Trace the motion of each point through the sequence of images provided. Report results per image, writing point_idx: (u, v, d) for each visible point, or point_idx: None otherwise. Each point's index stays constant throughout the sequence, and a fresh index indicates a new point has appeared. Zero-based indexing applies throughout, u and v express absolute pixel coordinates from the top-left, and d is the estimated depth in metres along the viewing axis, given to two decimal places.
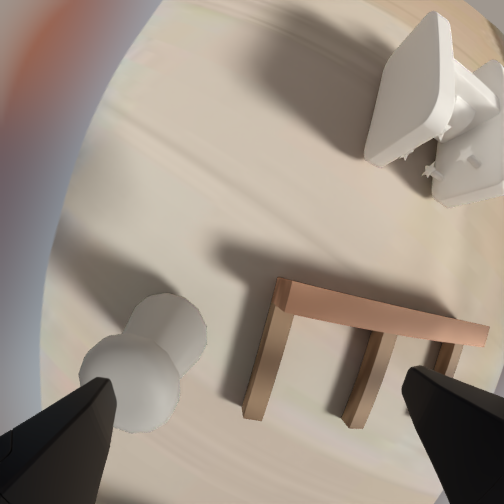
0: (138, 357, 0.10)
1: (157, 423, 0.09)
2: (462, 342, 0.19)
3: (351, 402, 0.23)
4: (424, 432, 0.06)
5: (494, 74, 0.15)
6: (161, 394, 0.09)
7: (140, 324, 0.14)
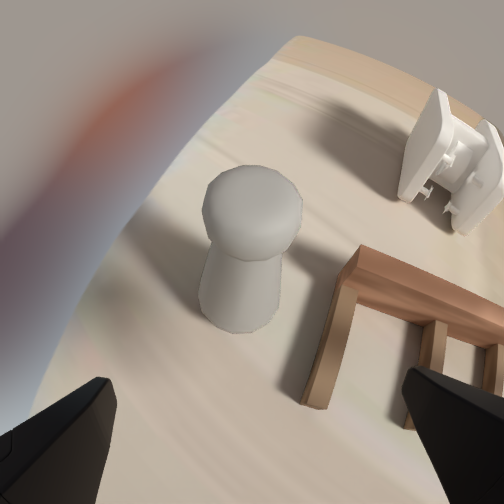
0: (277, 171, 0.13)
1: (285, 223, 0.11)
2: None
3: None
4: (424, 433, 0.06)
5: (482, 127, 0.25)
6: (295, 196, 0.12)
7: None
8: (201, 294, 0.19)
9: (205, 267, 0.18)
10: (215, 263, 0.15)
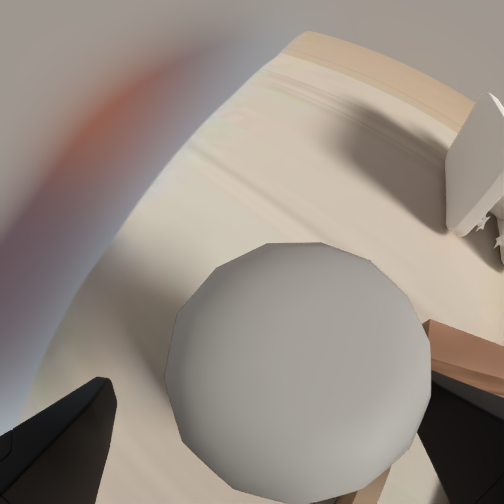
0: (372, 263, 0.04)
1: (405, 443, 0.03)
2: None
3: None
4: (425, 433, 0.06)
5: None
6: (426, 349, 0.04)
7: None
8: None
9: None
10: None
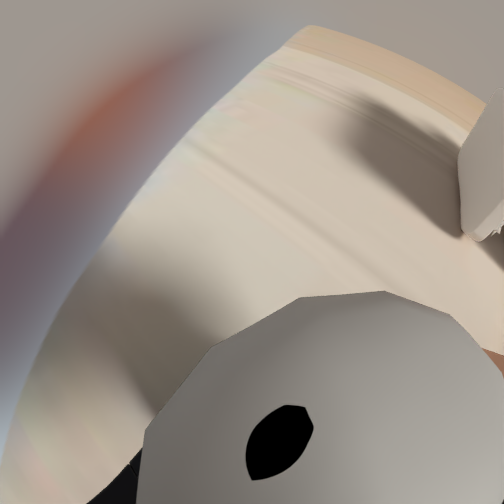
0: (459, 324, 0.02)
1: None
2: None
3: None
4: None
5: None
6: None
7: None
8: None
9: None
10: None
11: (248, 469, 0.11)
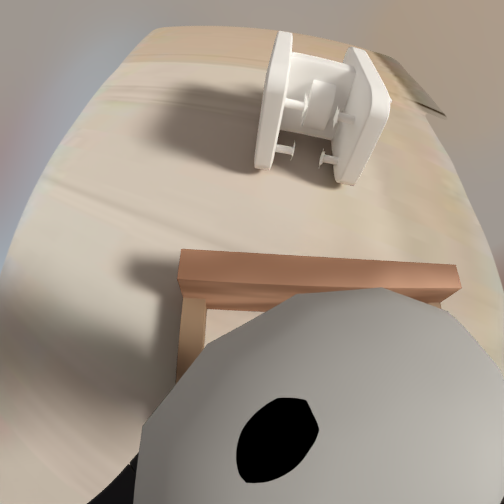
0: (458, 321, 0.02)
1: None
2: (426, 285, 0.18)
3: None
4: None
5: (348, 56, 0.25)
6: None
7: None
8: None
9: None
10: None
11: (248, 468, 0.11)
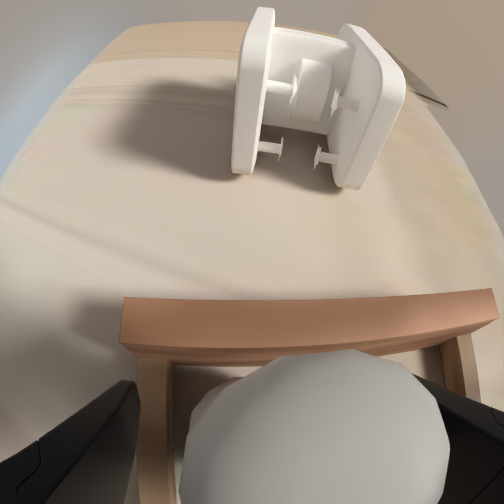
0: (406, 374, 0.04)
1: None
2: (462, 322, 0.12)
3: None
4: None
5: (343, 33, 0.20)
6: (446, 459, 0.03)
7: None
8: None
9: None
10: None
11: None
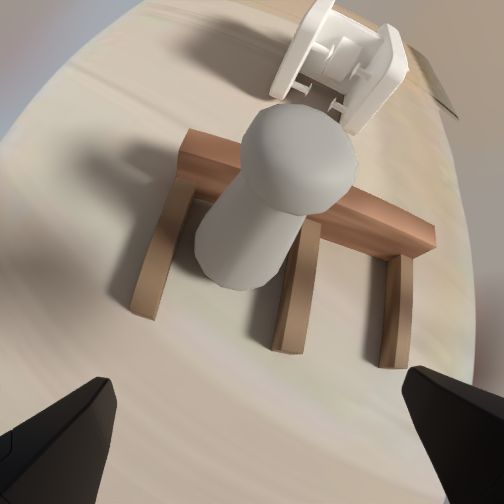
0: (339, 124, 0.10)
1: (339, 181, 0.09)
2: (403, 229, 0.20)
3: (279, 319, 0.20)
4: (424, 433, 0.06)
5: (381, 29, 0.24)
6: (354, 156, 0.09)
7: None
8: (200, 234, 0.17)
9: (215, 205, 0.16)
10: (234, 203, 0.12)
11: None
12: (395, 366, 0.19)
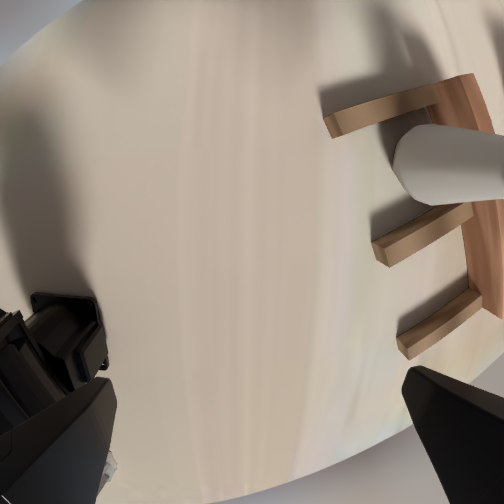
0: None
1: None
2: None
3: (397, 232, 0.20)
4: (425, 433, 0.06)
5: None
6: None
7: None
8: (424, 130, 0.15)
9: (453, 128, 0.13)
10: (480, 143, 0.11)
11: (393, 170, 0.19)
12: (408, 349, 0.21)
